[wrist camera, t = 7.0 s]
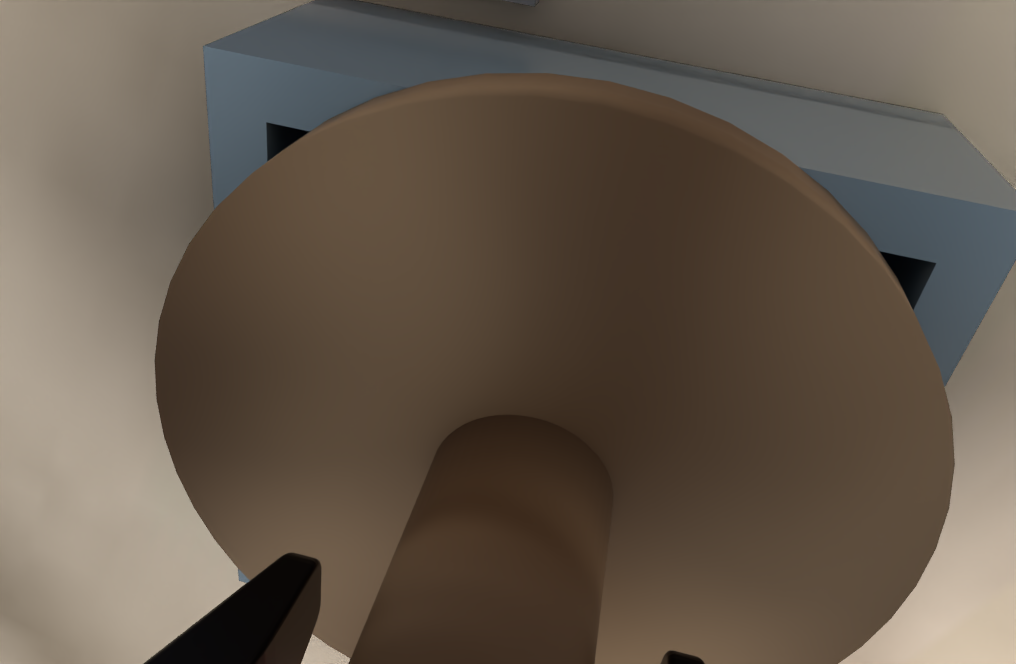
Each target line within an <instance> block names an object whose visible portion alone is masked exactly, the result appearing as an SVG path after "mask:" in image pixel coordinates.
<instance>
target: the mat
mask: <svg viewBox="0 0 1016 664" xmlns="http://www.w3.org/2000/svg"><path fill="white" fill-rule="evenodd" d="M503 1H508V2H513V3H519V4H524V5H529V6H534V7H535V6H536V5H537V4H538V2H539V0H503Z"/></svg>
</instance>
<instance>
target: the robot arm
mask: <svg viewBox="0 0 1016 664" xmlns="http://www.w3.org/2000/svg"><path fill="white" fill-rule="evenodd" d="M321 573H322V568H321V563H320V561H319V560H318V559H316V558H313V557H309V556H305V555H301V554H297V553H292V552H290V553H286V554H284V555H282V556H281V557H280V558H278V559H277V560H276V561H275V562H273V563H272V564H271V565H269V566H268V567H267V568H266V569H264V570H263V571H262V572H260V573H259V574H258V575H257V576H255V577H254V578H253V579H251V580H250V581H249V582H248V583H246V584H245V585H244V586H242V587H241V588H240V589H239V590H237V591H236V592H235V593H233V594H232V595H231V596H230V597H228V598H227V599H226V600H224V601H223V602H222V603H221V604H219V605H218V606H217V607H216V608H214V609H213V610H212V611H210V612H209V613H208V614H207V615H205V616H204V617H203V618H201V619H200V620H199V621H198V622H196V623H195V624H194V625H192V626H191V627H190V628H189V629H187V630H186V631H185V632H183V633H182V634H181V635H180V636H178V637H177V638H176V639H174V640H173V641H172V642H171V643H169V644H168V645H167V646H165V647H164V648H163V649H162V650H160V651H159V652H158V653H156V654H155V655H154V656H153V657H151V658H150V659H149V660H147V661H146V662H145V663H144V664H301V662H302V659H303V657H304V654H305V651H306V649H307V646H308V643H309V641H310V638H311V635H312V633H313V630H314V627H315V625H316V622H317V619H318V615H319V611H320V606H321ZM661 664H705V663H704V661H703V660H702V659H701V658H699V657H697V656H693V655H689V654H686V653H682V652H678V651H674V650H670V651H667V652H666V654H665V655H664V656H663V659H662V661H661Z"/></svg>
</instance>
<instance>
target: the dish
mask: <svg viewBox="0 0 1016 664" xmlns="http://www.w3.org/2000/svg"><path fill="white" fill-rule="evenodd" d="M203 52H204V67H205V82H206V97H207V112H208V127H209V142H210V156H211V171H212V186H213V201H214V210H215V208H216V207H217V206H218V205H219V204H220V203H221V202H222V201H223V200H224V199H225V198H226V197H227V196H228V195H230V194H231V193H232V192H233V191H234V190H235V189H236V188H237V187H238V186H239V185H240V184H241V183H242V182H243V181H244V180H245V179H246V178H247V177H248V176H250V175H251V174H252V173H253V172H254V171H256V170H257V169H258V168H260V167H261V166H262V165H264V164H265V163H266V162H268V161H269V160H270V159H272V158H273V157H274V156H276V155H277V154H278V153H280V152H281V151H282V150H284V149H285V148H286V147H288V146H289V145H291V144H292V143H294V142H295V141H297V140H298V139H300V138H301V137H303V136H304V135H306V134H307V133H308V132H310V131H311V130H313V129H314V128H316V127H317V126H319V125H320V124H322V123H323V122H325V121H326V120H328V119H330V118H332V117H334V116H336V115H338V114H341V113H343V112H345V111H347V110H349V109H351V108H353V107H356V106H358V105H360V104H362V103H364V102H366V101H368V100H371V99H373V98H375V97H378V96H382V95H385V94H388V93H392V92H395V91H399V90H402V89H405V88H409V87H412V86H415V85H419V84H422V83H426V82H430V81H437V80H444V79H451V78H458V77H465V76H471V75H478V74H485V73H551V74H558V75H566V76H573V77H581V78H589V79H596V80H604V81H611V82H614V83H618V84H622V85H625V86H629V87H633V88H636V89H640V90H644V91H647V92H651V93H655V94H659V95H662V96H666V97H670V98H672V99H675V100H677V101H680V102H682V103H684V104H687V105H689V106H691V107H694V108H696V109H699V110H701V111H703V112H706V113H708V114H710V115H713V116H715V117H718V118H720V119H722V120H725V121H727V122H729V123H731V124H733V125H734V126H736V127H738V128H739V129H741V130H743V131H745V132H746V133H748V134H750V135H751V136H753V137H755V138H756V139H758V140H760V141H761V142H763V143H765V144H766V145H768V146H770V147H771V148H773V149H775V150H777V151H778V152H780V153H782V154H783V155H784V156H786V157H787V158H788V159H789V160H790V161H792V162H793V163H794V164H795V165H797V166H798V167H799V168H800V169H802V170H803V171H804V172H805V173H807V174H808V175H809V176H810V177H812V178H813V179H814V180H815V181H817V182H818V183H819V184H820V185H822V186H823V187H824V188H825V189H827V190H828V191H829V192H830V193H831V194H832V195H833V196H834V198H835V199H836V200H837V201H838V202H839V203H840V204H841V205H842V206H843V207H844V208H845V209H846V211H847V212H848V213H849V214H850V215H851V216H852V217H853V218H854V219H855V220H856V221H857V222H858V224H859V225H860V226H861V227H862V228H863V229H864V230H865V231H866V232H867V233H868V235H869V236H870V238H871V239H872V241H873V242H874V244H875V245H876V247H877V248H878V250H879V251H880V253H881V254H882V256H883V257H884V259H885V260H886V262H887V263H888V265H889V266H890V268H891V269H892V271H893V272H894V274H895V275H896V277H897V278H898V280H899V283H900V285H901V287H902V289H903V291H904V293H905V295H906V297H907V299H908V301H909V303H910V305H911V307H912V309H913V311H914V313H915V315H916V317H917V319H918V322H919V324H920V326H921V328H922V331H923V333H924V335H925V337H926V339H927V342H928V344H929V346H930V348H931V351H932V353H933V355H934V357H935V359H936V362H937V364H938V366H939V368H940V372H941V376H942V380H943V384H944V387H945V386H946V384H947V382H948V380H949V378H950V377H951V375H952V373H953V371H954V369H955V368H956V366H957V364H958V362H959V361H960V359H961V357H962V355H963V353H964V352H965V350H966V348H967V346H968V344H969V343H970V341H971V339H972V337H973V336H974V334H975V332H976V330H977V328H978V327H979V325H980V323H981V321H982V319H983V318H984V316H985V314H986V312H987V311H988V309H989V307H990V305H991V303H992V302H993V300H994V298H995V296H996V294H997V293H998V291H999V289H1000V287H1001V285H1002V284H1003V282H1004V280H1005V278H1006V277H1007V275H1008V273H1009V271H1010V269H1011V268H1012V266H1013V264H1014V262H1015V260H1016V190H1015V189H1014V188H1013V187H1012V186H1011V185H1010V184H1009V183H1008V182H1007V180H1006V179H1005V178H1004V177H1003V176H1002V175H1001V174H1000V173H999V172H998V171H997V170H996V169H995V168H994V167H993V166H992V165H991V164H990V163H989V162H988V161H987V160H986V159H985V158H984V156H983V155H982V154H981V153H980V152H979V151H978V150H977V149H976V148H975V147H974V146H973V145H972V144H971V143H970V142H969V141H968V140H967V139H966V138H965V137H964V136H963V135H962V133H961V132H960V131H959V130H958V129H957V128H956V127H955V126H954V125H953V124H952V123H951V122H950V121H949V120H948V119H947V118H946V117H945V116H944V115H943V114H938V113H933V112H928V111H923V110H918V109H912V108H907V107H902V106H897V105H892V104H887V103H882V102H876V101H871V100H866V99H861V98H856V97H851V96H845V95H840V94H835V93H830V92H825V91H820V90H815V89H809V88H804V87H799V86H794V85H789V84H784V83H779V82H773V81H768V80H763V79H758V78H753V77H748V76H743V75H737V74H732V73H727V72H722V71H717V70H712V69H706V68H701V67H696V66H691V65H686V64H681V63H676V62H670V61H665V60H660V59H655V58H650V57H645V56H640V55H634V54H629V53H624V52H619V51H614V50H609V49H604V48H598V47H593V46H588V45H583V44H578V43H573V42H567V41H562V40H557V39H552V38H547V37H542V36H537V35H531V34H526V33H521V32H516V31H511V30H506V29H501V28H495V27H490V26H485V25H480V24H475V23H470V22H465V21H459V20H454V19H449V18H444V17H439V16H434V15H428V14H423V13H418V12H413V11H408V10H403V9H398V8H392V7H387V6H382V5H377V4H372V3H367V2H362V1H356V0H314V1H311V2H309V3H306V4H304V5H302V6H299V7H297V8H294V9H292V10H289V11H287V12H285V13H282V14H280V15H277V16H275V17H272V18H270V19H268V20H265V21H263V22H260V23H258V24H255V25H253V26H251V27H248V28H246V29H243V30H241V31H238V32H236V33H234V34H231V35H229V36H226V37H224V38H221V39H219V40H217V41H214V42H212V43H209V44H207V45H204V46H203ZM238 574H239V581H242V582H246V583H248V582H249V581H250V580H249V579H248V578H247V577H246V576H245V575H244V574H243V573H242V572H241V571H240V570H239V569H238Z"/></svg>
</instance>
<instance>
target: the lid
mask: <svg viewBox="0 0 1016 664" xmlns="http://www.w3.org/2000/svg"><path fill="white" fill-rule="evenodd" d="M155 375H156V396H157V403H158V408H159V413H160V418H161V423H162V428H163V433H164V438H165V440H166V443H167V446H168V449H169V452H170V455H171V458H172V461H173V463H174V466H175V469H176V472H177V474H178V476H179V478H180V480H181V482H182V484H183V486H184V488H185V490H186V492H187V494H188V496H189V498H190V500H191V502H192V504H193V506H194V508H195V510H196V511H197V513H198V514H199V516H200V517H201V519H202V521H203V522H204V524H205V525H206V527H207V528H208V530H209V531H210V533H211V534H212V536H213V537H214V539H215V540H216V542H217V543H218V544H219V545H220V547H221V548H222V549H223V550H224V551H225V553H226V554H227V555H228V556H229V558H230V559H231V560H232V561H233V563H234V564H235V565H236V566H237V568H238V569H239V570H240V571H241V572H242V573H243V574H244V575H245V576H246V577H247V578H248V579H249V580H251V579H253V578H254V577H255V576H257V575H258V574H259V573H260V572H262V571H263V570H264V569H266V568H267V567H268V566H269V565H271V564H272V563H273V562H275V561H276V560H277V559H278V558H280V557H281V556H282V555H284V554H286V553H290V552H292V553H297V554H301V555H305V556H309V557H313V558H316V559H318V560H319V561H320V563H321V568H322V573H321V606H320V611H319V615H318V619H317V622H316V625H315V627H314V630H313V633H312V634H313V635H315V636H316V637H318V638H319V639H320V640H322V641H323V642H325V643H326V644H327V645H329V646H331V647H332V648H334V649H336V650H337V651H339V652H341V653H342V654H344V655H346V656H347V657H349V658H351V659H350V662H349V664H661V661H662V659H663V656H664V655H665V654H666V652H667V651H670V650H674V651H678V652H682V653H686V654H689V655H693V656H697V657H699V658H701V659H702V660H703V661H704V663H705V664H838V663H839V662H841V661H842V660H844V659H845V658H846V657H848V656H849V655H850V654H852V653H853V652H855V651H856V650H857V649H859V648H860V647H862V646H863V645H864V644H865V643H866V642H867V641H868V640H869V639H870V638H871V637H872V636H873V635H874V634H875V633H876V632H877V631H878V630H879V629H880V628H881V627H883V626H884V625H885V624H886V623H887V622H888V621H889V620H890V619H891V618H892V616H893V615H894V614H895V613H896V611H897V610H898V609H899V607H900V606H901V605H902V603H903V602H904V601H905V600H906V598H907V597H908V596H909V594H910V593H911V592H912V591H913V589H914V588H915V587H916V585H917V583H918V581H919V579H920V578H921V576H922V574H923V572H924V570H925V568H926V566H927V564H928V563H929V561H930V559H931V557H932V555H933V553H934V551H935V549H936V547H937V543H938V540H939V537H940V534H941V531H942V528H943V525H944V522H945V519H946V516H947V513H948V510H949V504H950V496H951V488H952V480H953V473H954V465H955V463H954V446H953V430H952V416H951V412H950V408H949V404H948V400H947V396H946V392H945V388H944V384H943V380H942V376H941V372H940V368H939V366H938V364H937V362H936V359H935V357H934V355H933V353H932V351H931V348H930V346H929V344H928V342H927V339H926V337H925V335H924V333H923V331H922V328H921V326H920V324H919V322H918V319H917V317H916V315H915V313H914V311H913V309H912V307H911V305H910V303H909V301H908V299H907V297H906V295H905V293H904V291H903V289H902V287H901V285H900V283H899V280H898V278H897V277H896V275H895V274H894V272H893V271H892V269H891V268H890V266H889V265H888V263H887V262H886V260H885V259H884V257H883V256H882V254H881V253H880V251H879V250H878V248H877V247H876V245H875V244H874V242H873V241H872V239H871V238H870V236H869V235H868V233H867V232H866V231H865V230H864V229H863V228H862V227H861V226H860V225H859V224H858V222H857V221H856V220H855V219H854V218H853V217H852V216H851V215H850V214H849V213H848V212H847V211H846V209H845V208H844V207H843V206H842V205H841V204H840V203H839V202H838V201H837V200H836V199H835V198H834V196H833V195H832V194H831V193H830V192H829V191H828V190H827V189H825V188H824V187H823V186H822V185H820V184H819V183H818V182H817V181H815V180H814V179H813V178H812V177H810V176H809V175H808V174H807V173H805V172H804V171H803V170H802V169H800V168H799V167H798V166H797V165H795V164H794V163H793V162H792V161H790V160H789V159H788V158H787V157H786V156H784V155H783V154H782V153H780V152H778V151H777V150H775V149H773V148H771V147H770V146H768V145H766V144H765V143H763V142H761V141H760V140H758V139H756V138H755V137H753V136H751V135H750V134H748V133H746V132H745V131H743V130H741V129H739V128H738V127H736V126H734V125H733V124H731V123H729V122H727V121H725V120H722V119H720V118H718V117H715V116H713V115H710V114H708V113H706V112H703V111H701V110H699V109H696V108H694V107H691V106H689V105H687V104H684V103H682V102H680V101H677V100H675V99H672V98H670V97H666V96H662V95H659V94H655V93H651V92H647V91H644V90H640V89H636V88H633V87H629V86H625V85H622V84H618V83H614V82H611V81H604V80H596V79H589V78H581V77H573V76H566V75H558V74H551V73H485V74H478V75H471V76H465V77H458V78H451V79H444V80H437V81H430V82H426V83H422V84H419V85H415V86H412V87H409V88H405V89H402V90H399V91H395V92H392V93H388V94H385V95H382V96H378V97H375V98H373V99H371V100H368V101H366V102H364V103H362V104H360V105H358V106H356V107H353V108H351V109H349V110H347V111H345V112H343V113H341V114H338V115H336V116H334V117H332V118H330V119H328V120H326V121H325V122H323V123H322V124H320V125H319V126H317V127H316V128H314V129H313V130H311V131H310V132H308V133H307V134H306V135H304V136H303V137H301V138H300V139H298V140H297V141H295V142H294V143H292V144H291V145H289V146H288V147H286V148H285V149H284V150H282V151H281V152H280V153H278V154H277V155H276V156H274V157H273V158H272V159H270V160H269V161H268V162H266V163H265V164H264V165H262V166H261V167H260V168H258V169H257V170H256V171H254V172H253V173H252V174H251V175H250V176H248V177H247V178H246V179H245V180H244V181H243V182H242V183H241V184H240V185H239V186H238V187H237V188H236V189H235V190H234V191H233V192H232V193H231V194H230V195H228V196H227V197H226V198H225V199H224V200H223V201H222V202H221V203H220V204H219V205H218V206H217V207H216V208H215V210H214V211H213V212H212V214H211V215H210V216H209V218H208V219H207V220H206V222H205V223H204V224H203V226H202V227H201V228H200V230H199V231H198V233H197V234H196V235H195V237H194V238H193V239H192V241H191V242H190V243H189V245H188V247H187V249H186V251H185V253H184V255H183V258H182V260H181V262H180V264H179V266H178V268H177V270H176V272H175V274H174V276H173V278H172V280H171V282H170V285H169V289H168V292H167V296H166V299H165V303H164V306H163V310H162V313H161V316H160V320H159V327H158V336H157V345H156V354H155Z"/></svg>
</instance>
